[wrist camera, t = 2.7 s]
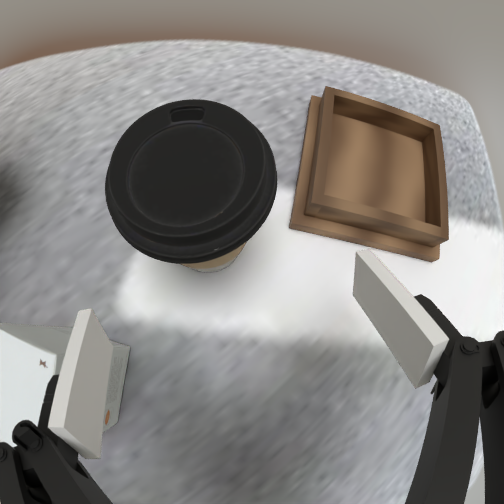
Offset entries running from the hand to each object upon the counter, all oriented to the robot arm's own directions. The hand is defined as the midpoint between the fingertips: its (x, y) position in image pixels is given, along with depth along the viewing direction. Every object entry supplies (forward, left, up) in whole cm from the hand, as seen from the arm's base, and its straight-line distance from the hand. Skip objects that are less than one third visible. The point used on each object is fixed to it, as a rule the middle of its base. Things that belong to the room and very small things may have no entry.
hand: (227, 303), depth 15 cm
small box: (-12, -9, -13) cm, 20 cm away
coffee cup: (-4, +6, -13) cm, 15 cm away
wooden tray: (+11, +17, -13) cm, 24 cm away
